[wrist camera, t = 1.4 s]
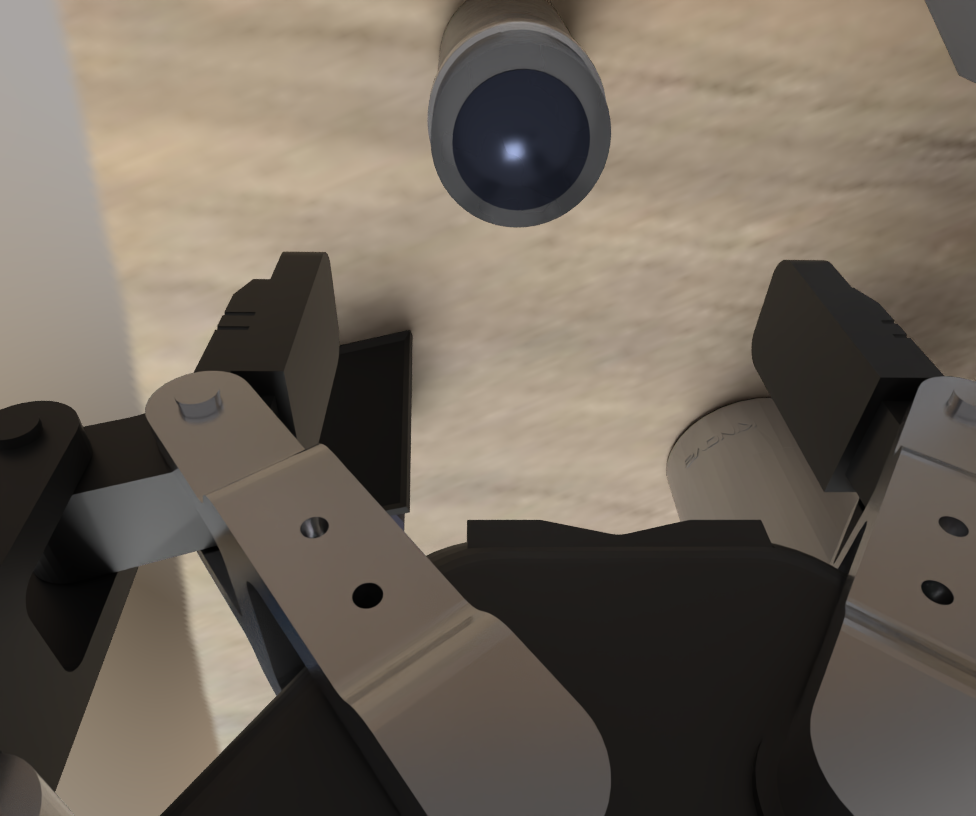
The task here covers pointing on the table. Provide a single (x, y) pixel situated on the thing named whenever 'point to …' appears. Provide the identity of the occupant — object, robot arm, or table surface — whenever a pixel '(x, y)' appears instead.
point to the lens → (516, 114)
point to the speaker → (374, 418)
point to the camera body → (957, 32)
